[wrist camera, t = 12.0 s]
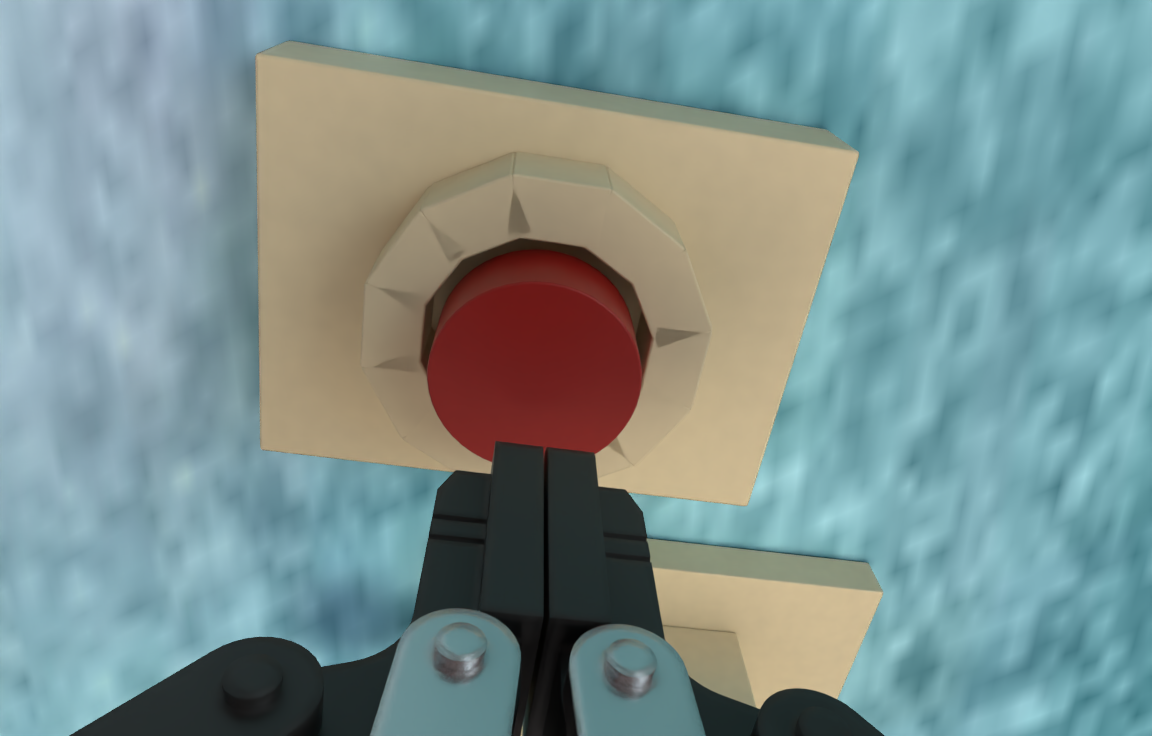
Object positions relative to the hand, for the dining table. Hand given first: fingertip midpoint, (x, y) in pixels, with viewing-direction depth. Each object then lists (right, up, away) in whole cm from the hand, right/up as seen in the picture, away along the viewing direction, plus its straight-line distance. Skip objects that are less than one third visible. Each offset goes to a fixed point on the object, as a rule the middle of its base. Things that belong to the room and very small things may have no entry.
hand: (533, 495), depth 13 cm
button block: (0, +4, +8) cm, 9 cm away
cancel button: (0, +3, +4) cm, 5 cm away
